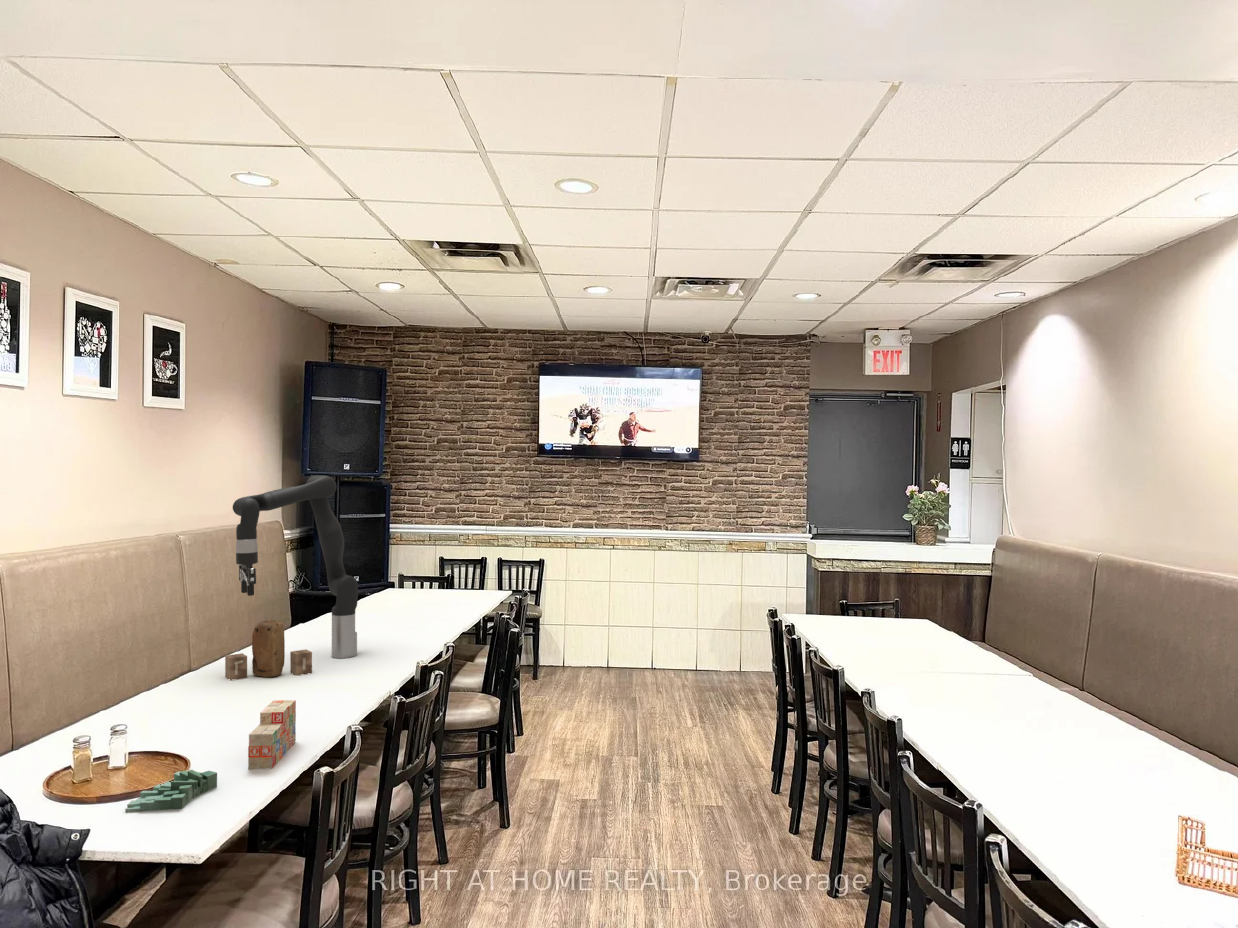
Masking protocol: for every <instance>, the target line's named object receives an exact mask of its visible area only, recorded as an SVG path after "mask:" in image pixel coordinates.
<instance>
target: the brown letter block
mask: <svg viewBox="0 0 1238 928" xmlns="http://www.w3.org/2000/svg"><path fill="white" fill-rule="evenodd" d="M224 660H225V662H224V663H225V665H224V669H225V672H224V675H225V676H224V677H225V679H227V680H228V679H230V680H229V681H232V680H231V679H236V680H243V679H247V678H248V656H247V655H246V654H244V653H243V652H242V653H233V654H228V655H227V654H226V655H225V657H224Z"/></svg>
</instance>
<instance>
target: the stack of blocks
mask: <svg viewBox="0 0 1238 928" xmlns="http://www.w3.org/2000/svg"><path fill="white" fill-rule="evenodd" d="M296 701H297V700H296V699H287V700H286V699H285V700H272V701H271V702H270V703H269V704H267V706H264V709H263V710H261V711H260V712H259V714H260V715H259V724H258V725H257V726H256V727H255V728H254V729H253V730H252V731H251V732H250V733H249V734H248V747H247V748H248V750H247V753H248V754H247V756H248V759H247V760H248V761H247V762H248V763H247V765H248V766H247V767H248V768H247V769H248V770H263V769H270V770H271V769H273V768H274V767H275V765H277V764H278V763H279V761H280V760H281V759H282V758H283V756H284V755H286V753H287V752H288V751H289V750H290V749H291V748H292V747H293V746H294V744H295V743H296V742H295V741H296V740H297V736H296V735H297V733H296V725H297V723H296V719H297V717H296V716H297V712H296V710H297V709H296V708H297V707H296V706H297V705H296V704H297V702H296ZM294 742H295V743H294ZM291 746H292V747H291ZM290 747H291V748H290ZM289 748H290V749H289ZM288 749H289V750H288Z"/></svg>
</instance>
